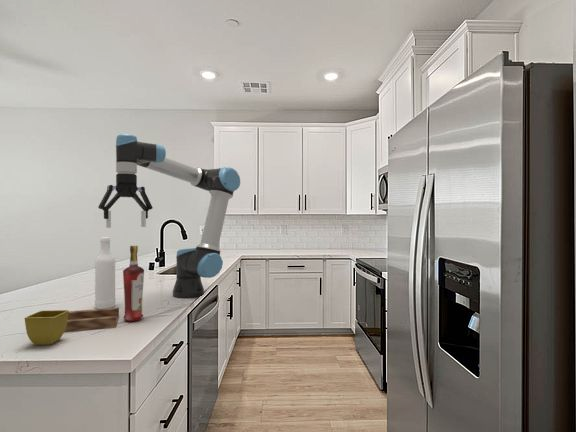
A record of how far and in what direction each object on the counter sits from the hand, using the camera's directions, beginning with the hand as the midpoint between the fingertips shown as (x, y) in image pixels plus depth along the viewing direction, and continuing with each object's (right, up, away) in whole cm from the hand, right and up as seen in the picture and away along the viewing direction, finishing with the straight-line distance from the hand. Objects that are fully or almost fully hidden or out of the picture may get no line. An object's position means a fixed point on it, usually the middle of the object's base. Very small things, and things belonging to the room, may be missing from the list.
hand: (126, 227), depth 145 cm
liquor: (+6, -35, -8) cm, 36 cm away
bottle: (-14, -35, +11) cm, 39 cm away
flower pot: (-10, -35, -32) cm, 49 cm away
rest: (-11, -35, -14) cm, 39 cm away
